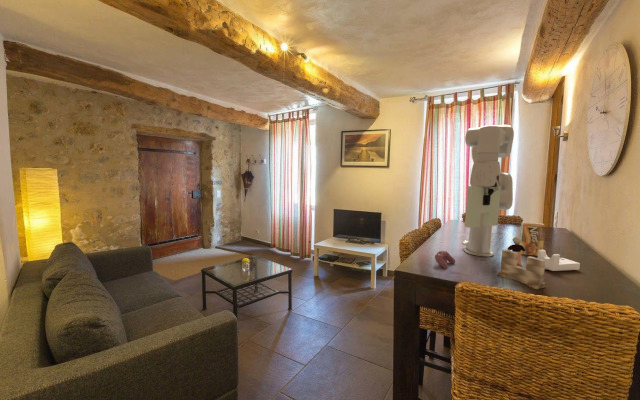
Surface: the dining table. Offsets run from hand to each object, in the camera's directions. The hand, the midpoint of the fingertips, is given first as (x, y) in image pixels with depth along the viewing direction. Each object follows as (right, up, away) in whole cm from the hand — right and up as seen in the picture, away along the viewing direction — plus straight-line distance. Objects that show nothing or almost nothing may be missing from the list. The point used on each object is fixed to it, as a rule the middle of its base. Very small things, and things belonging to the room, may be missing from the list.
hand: (483, 204), depth 115 cm
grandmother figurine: (+19, -27, +10) cm, 34 cm away
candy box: (+37, -25, +25) cm, 52 cm away
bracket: (+35, -28, +6) cm, 45 cm away
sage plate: (0, -9, +1) cm, 9 cm away
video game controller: (-12, -26, +9) cm, 30 cm away
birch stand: (+9, -28, -8) cm, 31 cm away
